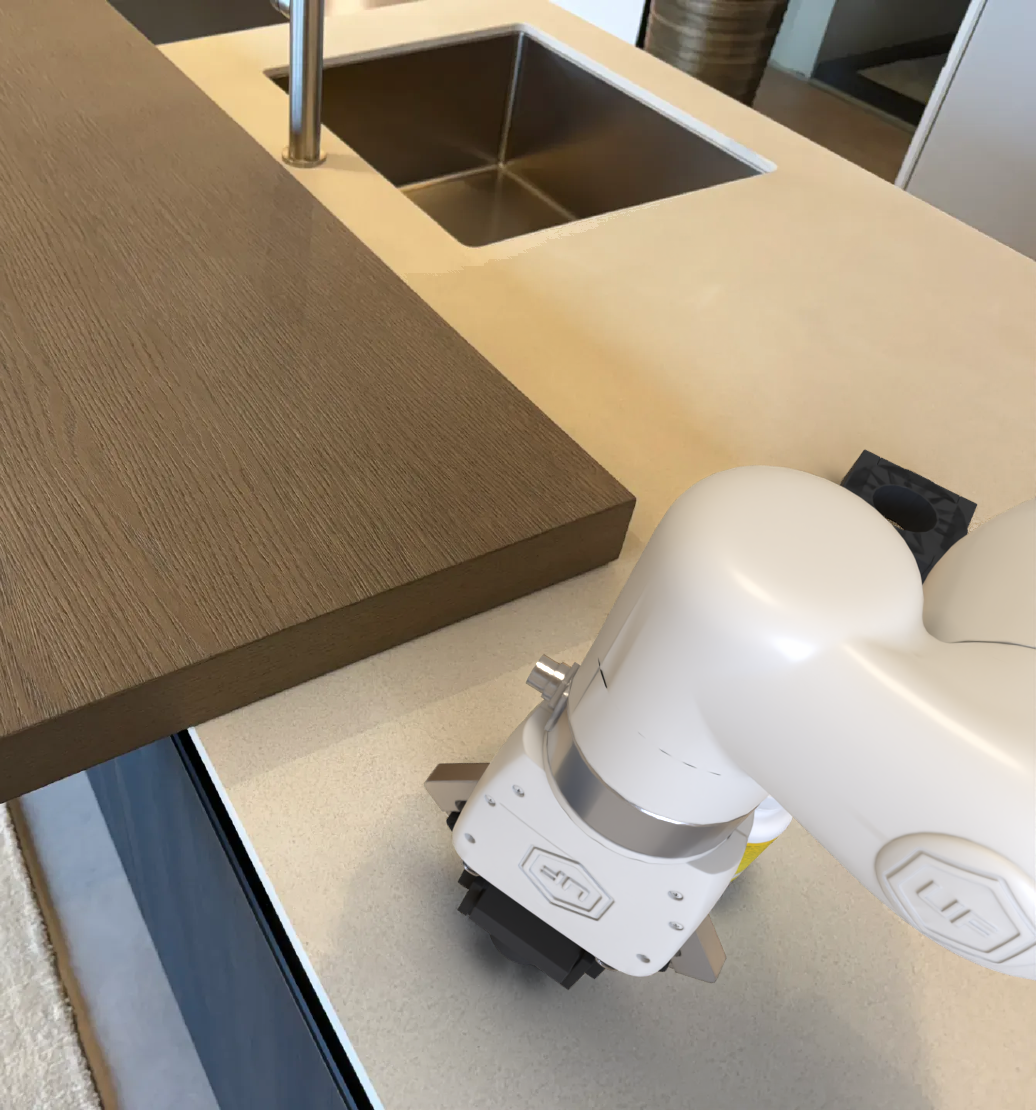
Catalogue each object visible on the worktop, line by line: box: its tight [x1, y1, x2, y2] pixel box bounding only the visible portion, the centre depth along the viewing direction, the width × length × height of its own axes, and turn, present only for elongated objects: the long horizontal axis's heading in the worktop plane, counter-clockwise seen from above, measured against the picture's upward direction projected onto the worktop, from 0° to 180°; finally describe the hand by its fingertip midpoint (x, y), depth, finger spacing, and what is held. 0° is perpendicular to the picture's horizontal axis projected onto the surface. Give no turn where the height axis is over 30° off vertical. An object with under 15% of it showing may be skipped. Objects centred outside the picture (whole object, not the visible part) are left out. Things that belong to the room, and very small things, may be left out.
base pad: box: [839, 449, 978, 585], centre depth 72 cm, size 8×8×3 cm
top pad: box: [468, 884, 582, 984], centre depth 51 cm, size 5×5×4 cm
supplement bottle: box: [729, 795, 794, 885], centre depth 53 cm, size 5×5×10 cm
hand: (526, 924), depth 53 cm, fingers closed on top pad, 5 cm apart
